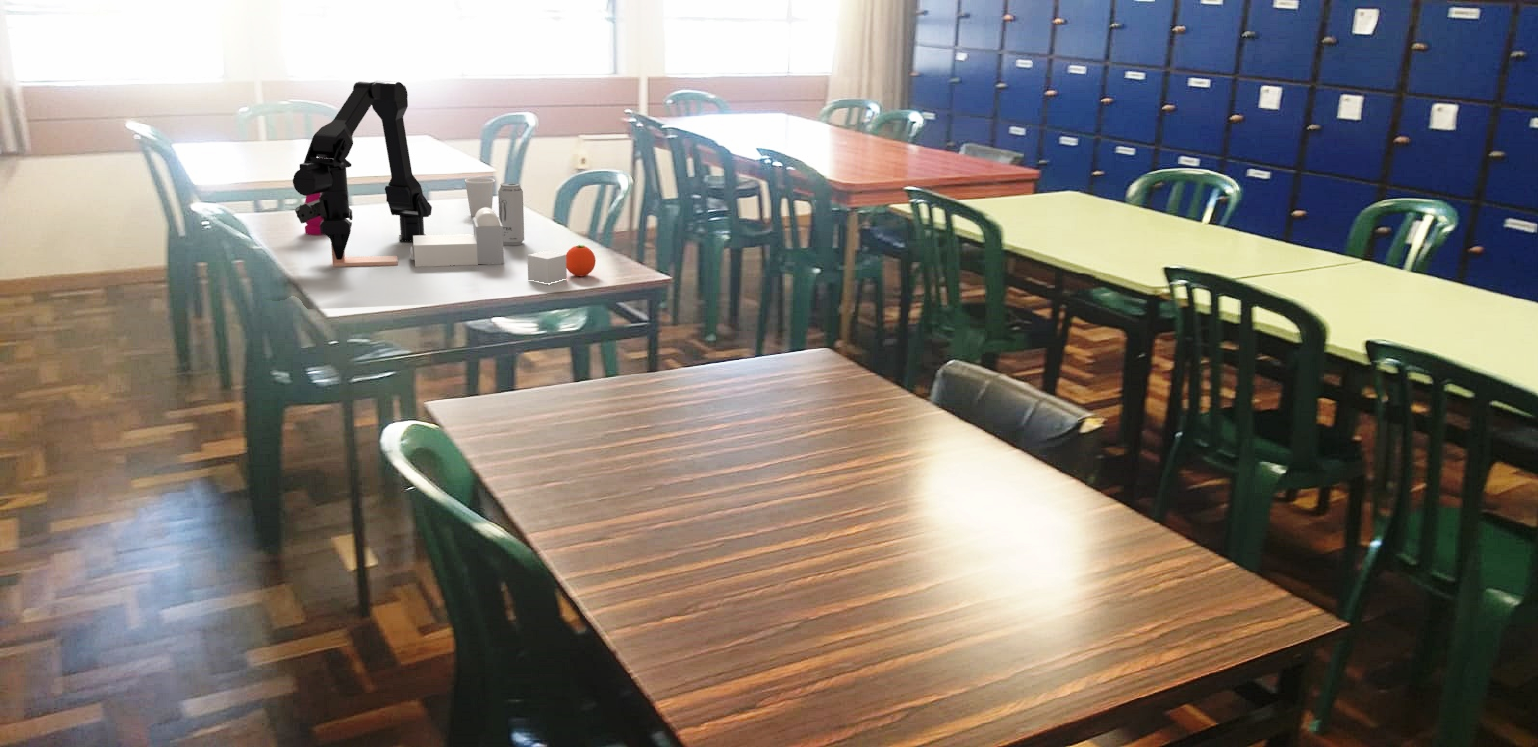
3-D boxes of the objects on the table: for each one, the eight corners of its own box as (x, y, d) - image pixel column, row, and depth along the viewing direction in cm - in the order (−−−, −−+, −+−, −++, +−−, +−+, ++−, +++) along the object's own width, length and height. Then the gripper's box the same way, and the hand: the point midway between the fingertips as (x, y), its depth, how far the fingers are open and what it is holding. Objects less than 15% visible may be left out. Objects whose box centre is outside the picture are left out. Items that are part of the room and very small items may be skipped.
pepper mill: (296, 233, 293) (289, 154, 287) (317, 229, 300) (310, 151, 294) (319, 236, 291) (312, 157, 285) (339, 232, 297) (333, 153, 291)
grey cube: (548, 285, 253) (547, 259, 251) (528, 281, 256) (527, 255, 254) (566, 280, 258) (566, 254, 256) (547, 276, 261) (546, 250, 259)
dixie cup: (492, 218, 322) (490, 182, 319) (462, 217, 322) (460, 181, 319) (499, 213, 330) (498, 178, 327) (470, 211, 330) (468, 176, 327)
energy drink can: (495, 243, 292) (493, 183, 287) (515, 240, 296) (513, 181, 291) (509, 247, 288) (507, 187, 283) (529, 244, 292) (527, 185, 287)
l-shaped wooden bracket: (333, 260, 267) (332, 239, 265) (397, 259, 271) (395, 238, 270) (332, 266, 262) (331, 245, 260) (397, 264, 266) (396, 243, 264)
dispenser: (410, 256, 274) (407, 208, 271) (500, 253, 280) (498, 206, 277) (411, 266, 264) (408, 217, 261) (504, 264, 271) (502, 215, 267)
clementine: (569, 270, 267) (568, 240, 265) (598, 272, 267) (598, 241, 265) (562, 278, 259) (561, 247, 257) (592, 280, 259) (592, 249, 257)
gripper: (298, 183, 265) (304, 249, 270) (292, 196, 249) (299, 267, 253) (349, 182, 269) (354, 248, 274) (347, 196, 252) (352, 265, 257)
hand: (339, 257), depth 264 cm, fingers closed on l-shaped wooden bracket, 4 cm apart
